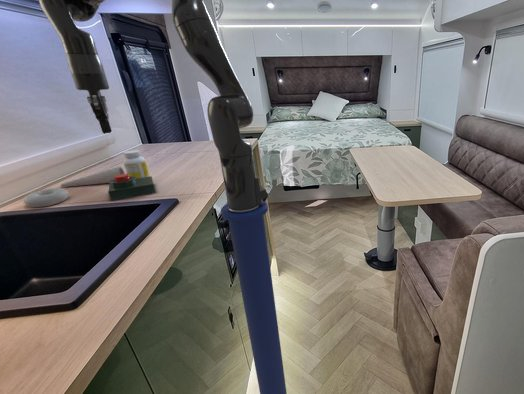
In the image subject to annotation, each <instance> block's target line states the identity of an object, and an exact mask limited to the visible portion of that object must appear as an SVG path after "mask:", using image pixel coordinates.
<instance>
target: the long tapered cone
mask: <svg viewBox="0 0 524 394" xmlns="http://www.w3.org/2000/svg"><path fill="white" fill-rule="evenodd" d="M125 172H126V171H125V170H124V168H122V167H121V166H117V167H113V168H110V169H107V170H103V171H100V172H97V173H93V174H89V175H86V176H83V177H80V178H77V179H72V180H71V181H70V180H69V181H65V182H63V183H61V184H60V188H68V187H80V186H91V185H92V186H93V185H100V184H103V185H104V184H110V183H109V182H110V180H112V179H114V176H116V175H119V174H126V173H125Z"/></svg>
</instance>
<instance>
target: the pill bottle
mask: <svg viewBox="0 0 524 394" xmlns="http://www.w3.org/2000/svg"><path fill="white" fill-rule="evenodd" d="M123 156H124V157H125V158H124V160H123V162H122V163H123V166H124V169H125V172H126V174H129V176H133V177H135V178H136V179H137V178H144V177H150V172H149V169H148V165H147V162H146V159H145V158H144V156H141V152H140V150H137V149H133V150H132V149H131V150H125V151H124V152H123Z"/></svg>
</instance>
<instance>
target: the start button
mask: <svg viewBox="0 0 524 394" xmlns="http://www.w3.org/2000/svg"><path fill="white" fill-rule="evenodd" d="M114 179H115V182H121V181H126V180H129V179H130V177H129V174H127V173H125V174H119V175H116V176H114Z"/></svg>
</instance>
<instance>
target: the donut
mask: <svg viewBox="0 0 524 394" xmlns="http://www.w3.org/2000/svg"><path fill="white" fill-rule="evenodd" d="M68 197H69V192H68V190H67V189H64V188H62V187H54V188H53V187H51V188H46V189H41V190H35V191H33V192H30V193H29V194H26V196H24V198H23V203H24V204H25V205H26V206H27V207H31V208H43V207H49V206H55V205H56V204H60V203H62V202H64V201H65V200H67V199H68Z"/></svg>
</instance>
